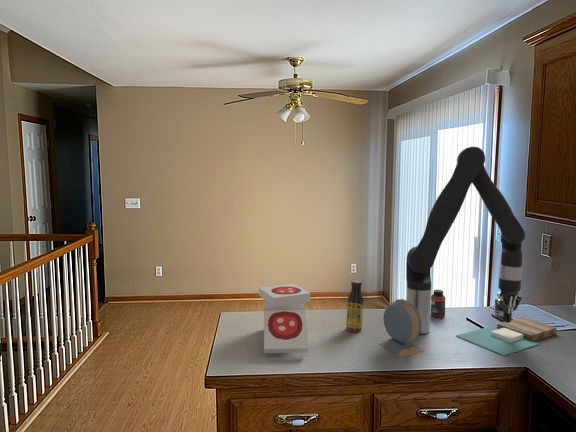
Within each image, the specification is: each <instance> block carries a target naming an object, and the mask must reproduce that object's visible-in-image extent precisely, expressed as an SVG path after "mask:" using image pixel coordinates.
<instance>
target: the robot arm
mask: <svg viewBox="0 0 576 432" xmlns="http://www.w3.org/2000/svg"><path fill="white" fill-rule="evenodd" d="M456 158H457V159H456V166H455V168H454V170H453V172H452V176H451V178H450V179H449V180H448V182H447V184H446V185H445V186H444V188H443V189H442V191H441V192H440V193H439V195H438V197H437V199H436V200H435V202H434V204H433V206H432V208H431V210H430V212H429V215H428V218H427V222H426V226H425V230H424V232H423V233H424V234H423V235H422V238H421V239H420V241H419V243H418V244H417V246H416V245H415V246H413V247H411V248H410V249H409V251H408V252H407V254H406V265H405V266H406V268H405V269H406V270H405V271H406V277H405V279H406V299H405V300H406V301H408V302H409V303H410V304H412V305H413V306H414V307H415V308H416V309H417V310H418V312H419V314H420V317H421V322H422V326H421V331H420V333H419V335H424V334H428V333H430V329H431V328H430V327H431V296H432V279H431V278H432V277H431V269H432V268H433V265H434V264H435V262H436V259H437V255H438V253H439V251H440V248H441V245H442V243H443V241H444V240H445V238H446V236H447V235H448V233H449V231H450V230H451V228H452V226H453V223H454V222H455V220H456V219H457V216H458V214H459V212H460V210H461V209H462V206H463V204H464V201H465V199H466V197H467V194H468V191H469V189H470V187H471V186H472V185H473V186H474V187H475V190H476V191H477V192H478V195H479V197H480V198H481V200H482V202H483V204H484V206H485V207H486V208H487V211H488V213H489V214H490V216H491V218H492V219H493V220H494V222H495V223H496V224H497V227H498V228H499V230H500V233H501V249H502V250H501V255H500V256H501V258H500V266H499V273H498V285H497V286H498V289H499V290H500V292H501V293H500V298H499V299H496V300H495V299H494V303H495V302H496V304H497V306H498V308H499V310H500V311H503V313H504V314H503V316H502V319H503V320H502V322H506V323H510V322H511V320H512V314H513V313H514V311H516V310H517V309H518V306H519V305H520V303H521V301H522V299H523V297H522V296H519V292H520V291H521V290H522V279H523V268H522V267H523V252H522V244H523V242H524V240H525V238H526V231H525V230H524V228H523V226H522V224H521V223H520V222H519V220H518V219H517V217H516V216H515V215H514V213H513V210H512V208H511V207H510V204H509V203H508V201H507V200H506V198H505V196H504V194H502V192H501V190H500V189H499V188H498V187H497V186H496V184H495V183H494V181H492V179H491V177H490V175H489V173H488V172H487V169H486V167H485V163H486V155H485V151H483V149H481V147H478V146H475V145H474V146H473V145H472V146H469V147H468V146H467V147H466V148H464V149H462V150H461V151H460V152H459V153H458V156H457V157H456Z"/></svg>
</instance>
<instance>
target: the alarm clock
mask: <svg viewBox="0 0 576 432" xmlns="http://www.w3.org/2000/svg"><path fill="white" fill-rule="evenodd" d="M385 308H386V309H384V312H383V326H384V329H385V331H386V332H387V334H388V335H389V336H390V338H389V339H388V340H386V341H383V342H380V343H379V345H380V346H381V345H382V346H381V347H383V348H385V349H387V350H388V349H389V351H390V350H391V351H390V352H391V353H394V354H395V353H396V355H397V356H399V357H401V358H405V357H409V356H412V355H413V354H414V355H418V354H422V353H424V352H425V351H424V350H423V349H421V348H420V347H419V346H417V345H415V344H414V343H413V342H412V341H414V340H415V339H416V338H417V337H418V336H419V335H420V334H419V333H420V331H421V326H422V322H421V317H420V314H419V312H418V310H417V309H416V308H415V307H414V306H413V305H412V304H410V303H409V302H408V301H406V299H403V298H398V299H395V300H394V301H393V302H392V303H390V304H389V305H388V306H387V307H385ZM421 352H422V353H421Z"/></svg>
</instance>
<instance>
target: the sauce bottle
mask: <svg viewBox="0 0 576 432" xmlns="http://www.w3.org/2000/svg"><path fill="white" fill-rule="evenodd" d="M350 283H351V290H350V293H349V294H348V297H347V303H346V304H347V306H346V319H345V320H346V325H345V326H346V327H345V328H346V329H345V330H347V331H348V332H351V333H359V332H361V331H362V327H363V319H364V318H363V315H364V314H363V311H364V298H363V295H362V284H363V282H362V280H356V279H354V280H353V279H352V280H351V282H350Z"/></svg>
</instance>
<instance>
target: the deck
mask: <svg viewBox="0 0 576 432" xmlns="http://www.w3.org/2000/svg"><path fill="white" fill-rule="evenodd" d="M501 328H507V329H509V330H512V331H515V332H518V333H521V334H524V336H523V338H524V339H527V340H530V341H533V342H536V341H538V340H541V339H545V338H548V337H552V336H555V335H556V334H557V327H555V326H552V325H549V324H545V323H542V322H539V321H535V320H532V319H530V318H526V317H522V316H521V317H517V318H514V319H511V322H510V323H506V322H504V321H502V322H499V323H497V326H496V329H501Z"/></svg>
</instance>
